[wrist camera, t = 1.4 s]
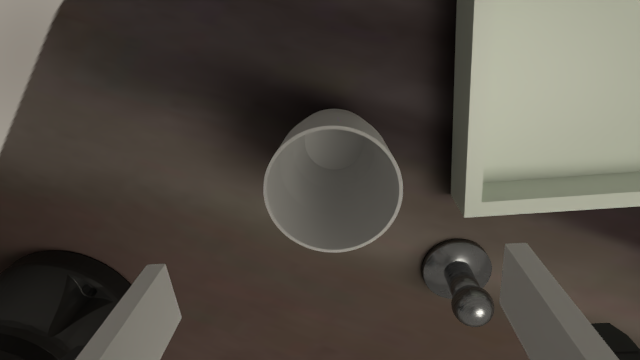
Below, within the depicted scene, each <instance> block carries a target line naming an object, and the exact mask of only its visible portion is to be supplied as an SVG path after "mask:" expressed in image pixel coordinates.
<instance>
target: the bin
mask: <svg viewBox="0 0 640 360" xmlns="http://www.w3.org/2000/svg"><path fill="white" fill-rule="evenodd" d="M451 196H452V198H453V200H454V201H455V203H456V205H457V206H458V208H459V210H460V211H461V213H462V215H463V216H464V218H467V217H482V216H497V215H513V214H528V213H543V212H559V211H574V210H589V209H605V208H620V207H635V206H640V0H457V6H456V39H455V71H454V103H453V135H452V167H451Z"/></svg>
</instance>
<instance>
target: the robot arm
mask: <svg viewBox="0 0 640 360" xmlns="http://www.w3.org/2000/svg"><path fill="white" fill-rule="evenodd" d="M499 303H500V305H501V307H502V309H503V311H504V313H505V314H506V316H507V318H508V320H509V322H510V324H511V326H512V327H513V329H514V331H515V333H516V335H517V337H518V339H519V340H520V342H521V344H522V346H523V348H524V350H525V352H526V353H527V355H528V357H529V359H530V360H640V349H639V348H638V347H637V346H636V344H635V343H634V342H633V341H632V340H631V339H630V338H629V336H627V335H626V334H625V333H623V332H622V331H620V330H619V329H617V328H616V327H614V326H613V325H611V324H610V323H595V324H591V323H590V322H589V321H588V320H587V318H586V317H585V316H584V315H583V313H582V312H581V311H580V310H579V308H578V307H577V306H576V305H575V303H574V302H573V301H572V300H571V298H570V297H569V296H568V295H567V293H566V292H565V291H564V290H563V288H562V287H561V286H560V285H559V283H558V282H557V281H556V279H555V278H554V277H553V276H552V274H551V273H550V272H549V271H548V269H547V268H546V267H545V266H544V264H543V263H542V262H541V261H540V259H539V258H538V257H537V256H536V254H535V253H534V252H533V251H532V249H531V248H530V247H529V246H528V244H527V243H515V244H505V249H504V260H503V270H502V280H501V291H500V301H499ZM181 318H182V317H181V314H180V310H179V307H178V304H177V300H176V297H175V294H174V291H173V287H172V284H171V281H170V277H169V274H168V271H167V267H166V264H153V265H146V267H145V268H144V269H143V271H142V272H141V273H140V275H139V276H138V277H137V279H136V280H135V281H134V283H133V284H132V285H130V284H129V283H128V282H127V281H126V280H125V279H124V278H123V277H122V276H121V275H119V274H118V273H117V272H115V271H114V270H112V269H111V268H109V267H108V266H106V265H104V264H102V263H100V262H98V261H96V260H94V259H91V258H89V257H86V256H83V255H79V254H75V253H71V252H64V251H44V252H38V253H34V254H30V255H28V256H25V257H23V258H21V259H20V260H18V261H17V262H15V263H14V264H13V265H11V266H10V267H9V268H8V269H6V270H5V271H4V272H2V273H1V274H0V360H160V359H161V357H162V355H163V353H164V351H165V349H166V347H167V345H168V343H169V341H170V339H171V337H172V335H173V334H174V332H175V330H176V328H177V326H178V324H179V322H180V320H181Z"/></svg>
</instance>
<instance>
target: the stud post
mask: <svg viewBox="0 0 640 360" xmlns="http://www.w3.org/2000/svg"><path fill="white" fill-rule="evenodd" d="M491 271H492V266H491V261H490V259H489V257H488V255H487V254H486V252H485V251H484V249H483V248H482V247H481V246H480V245H478V244H477V243H475V242H473V241H470V240H466V239H451V240H447V241H444V242H442V243H440V244H438V245H436V246H435V247H433V248H432V249H431V250H430V251H429V252H428V253H427V255H426V256H425V258H424V261H423V264H422V273H423V277H424V280H425V283H426V285H427V286H428V288H429V289H430V290H431V291H432V292H434V293H435V294H437V295H439V296H441V297H444V298H450V299H452V302H451V305H452V310H453V313H454V315H455V316H456V318H457V319H458V320H459V321H460V322H462V323H463V324H465V325H467V326H471V327H480V326H483V325H485V324H487V323H488V322H489V321H490V320H491V318H492V316H493V314H494V303H493V300H492V298H491V296H490V295H489V293H488V292H487V291H486V290H484V289H483V287H484V286H485V285H486V283H487V282H488V280H489V278H490V276H491Z"/></svg>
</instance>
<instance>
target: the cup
mask: <svg viewBox="0 0 640 360" xmlns="http://www.w3.org/2000/svg"><path fill="white" fill-rule="evenodd" d="M263 193H264V200H265V204H266V207H267V210H268V213H269V215H270V217H271V218H272V220H273V222H274V223H275V224H276V226H277V227H278V228H279V229H280V230H281V231H282V232H283V233H284V234H285V235H286V236H287V237H289V238H290V239H291V240H293V241H294V242H296V243H298V244H300V245H302V246H304V247H307V248H309V249H313V250H317V251H322V252H345V251H351V250H354V249H358V248H360V247H363V246H365V245H367V244H369V243H371V242H373V241H374V240H376V239H377V238H378V237H380V236H381V235H382V234H383V233H384V232H385V231H386V230H387V229H388V228H389V227H390V225H391V224H392V223H393V221H394V220H395V218H396V216H397V214H398V212H399V209H400V206H401V202H402V196H403V182H402V177H401V173H400V170H399V167H398V165H397V163H396V161H395V159H394V157H393V156H392V154H391V152H390V151H389V149H388V147H387V145H386V144H385V142H384V140H383V139H382V137H381V136H380V134H379V133H378V132H377V131H376V130H375V129H374V128H373V127H372V126H371V125H370V124H369V123H367V122H366V121H365V120H363V119H362V118H361V117H359V116H358V115H356V114H354V113H352V112H350V111H347V110H342V109H326V110H321V111H318V112H316V113H314V114H312V115H310V116H309V117H307V118H306V119H304V120H303V121H302V122H300V123H299V124H297V125H296V126H295V127H294V128H293V129H292V130H291V131H290V132H289V133H288V135H287V136H286V137H285V139H284V140H283V142H282V144H281V145H280V147H279V148H278V150H277V151H276V153H275V154H274V156H273V157H272V159H271V161H270V163H269V165H268V167H267V170H266V173H265V177H264V185H263Z"/></svg>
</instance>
